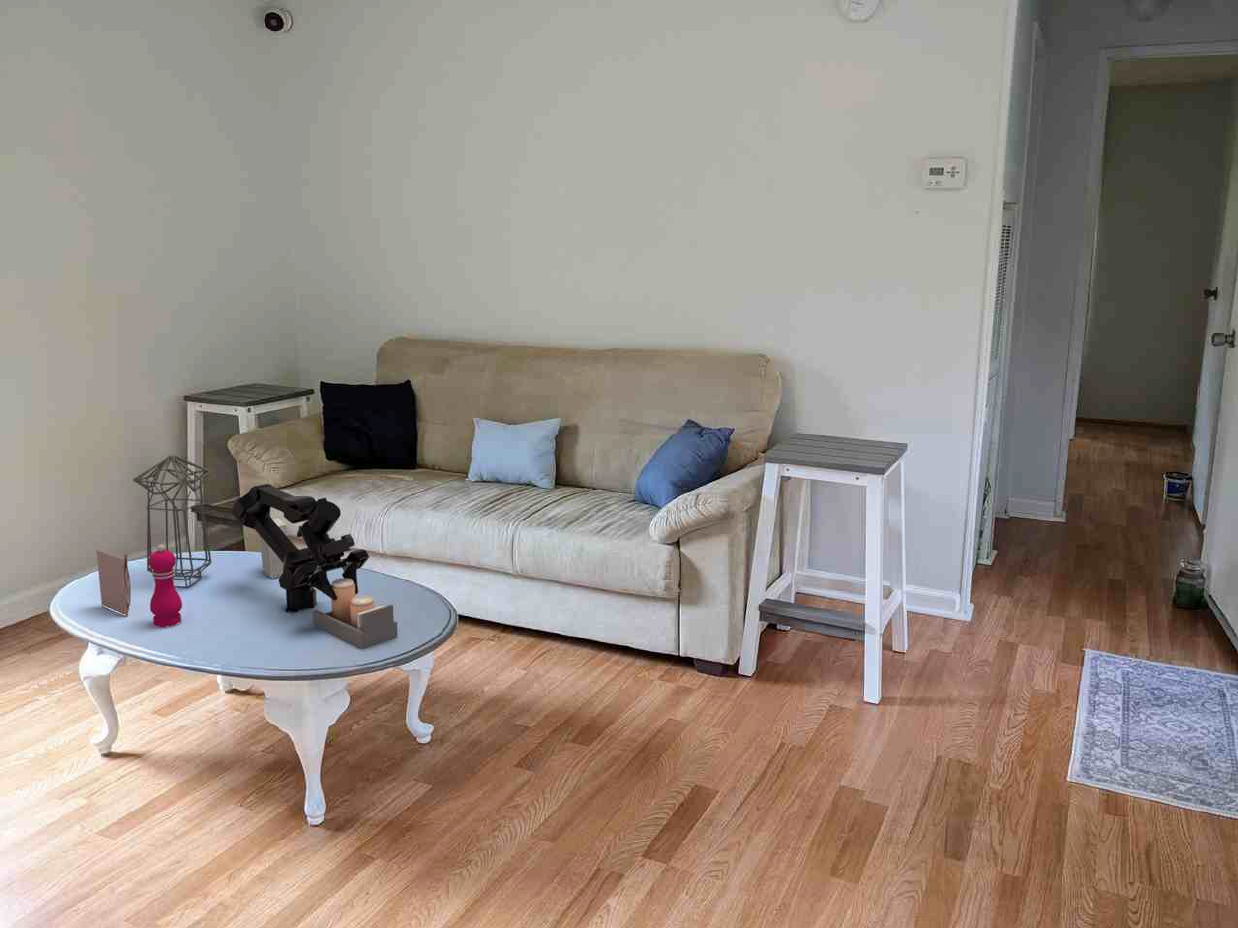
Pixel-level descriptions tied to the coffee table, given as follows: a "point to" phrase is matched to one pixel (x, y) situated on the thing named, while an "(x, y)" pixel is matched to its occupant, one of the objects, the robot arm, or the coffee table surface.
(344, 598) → the terracotta jar
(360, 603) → the jar in lane
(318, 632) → the coffee table surface
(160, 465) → the geometric lantern
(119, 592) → the brown paper bag
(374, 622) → the tray
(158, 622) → the pepper mill
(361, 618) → the panel
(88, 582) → the coffee table surface
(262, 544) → the skincare box
